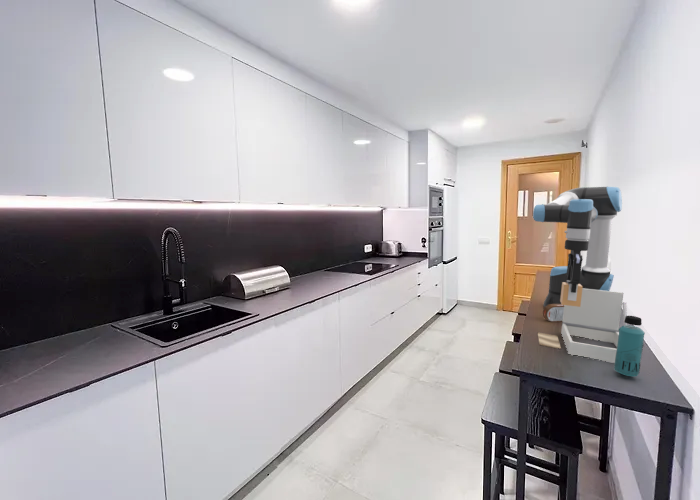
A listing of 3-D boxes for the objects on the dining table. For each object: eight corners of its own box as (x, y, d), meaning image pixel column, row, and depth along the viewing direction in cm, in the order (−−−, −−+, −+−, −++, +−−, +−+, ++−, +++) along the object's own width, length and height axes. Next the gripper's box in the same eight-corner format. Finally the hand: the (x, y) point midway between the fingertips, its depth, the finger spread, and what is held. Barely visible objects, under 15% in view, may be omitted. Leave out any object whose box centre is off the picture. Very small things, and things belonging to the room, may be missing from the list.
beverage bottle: (617, 378, 105) (625, 318, 102) (609, 369, 111) (616, 312, 108) (642, 383, 102) (651, 321, 100) (633, 373, 108) (641, 315, 106)
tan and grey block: (560, 301, 133) (562, 280, 132) (577, 303, 130) (580, 282, 129) (561, 304, 128) (564, 283, 127) (580, 306, 126) (582, 285, 124)
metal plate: (537, 333, 142) (537, 332, 142) (557, 336, 139) (557, 335, 139) (539, 345, 129) (539, 344, 129) (560, 349, 126) (561, 348, 126)
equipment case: (561, 333, 142) (566, 286, 139) (620, 343, 133) (627, 292, 130) (568, 354, 121) (574, 299, 119) (639, 367, 112) (648, 308, 109)
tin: (569, 319, 160) (571, 303, 159) (574, 322, 157) (576, 305, 156) (541, 320, 159) (542, 303, 157) (545, 322, 155) (547, 305, 154)
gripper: (562, 237, 136) (556, 291, 139) (569, 241, 119) (562, 303, 122) (583, 238, 132) (577, 294, 135) (594, 242, 116) (586, 305, 119)
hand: (570, 298), depth 129 cm, fingers closed on tan and grey block, 5 cm apart
